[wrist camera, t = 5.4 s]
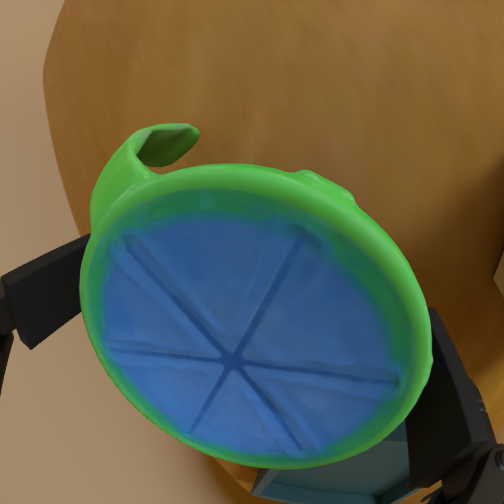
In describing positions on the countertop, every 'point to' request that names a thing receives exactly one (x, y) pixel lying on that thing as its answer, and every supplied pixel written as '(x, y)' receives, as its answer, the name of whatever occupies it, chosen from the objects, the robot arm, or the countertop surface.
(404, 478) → the tray
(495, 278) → the cheese
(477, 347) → the countertop surface
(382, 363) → the snack cup
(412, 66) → the countertop surface
